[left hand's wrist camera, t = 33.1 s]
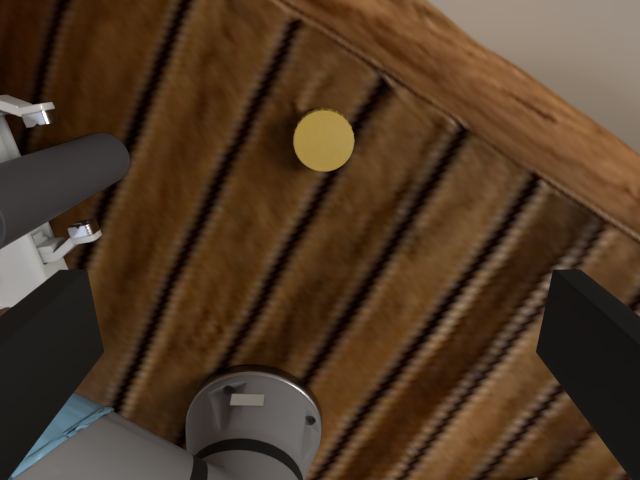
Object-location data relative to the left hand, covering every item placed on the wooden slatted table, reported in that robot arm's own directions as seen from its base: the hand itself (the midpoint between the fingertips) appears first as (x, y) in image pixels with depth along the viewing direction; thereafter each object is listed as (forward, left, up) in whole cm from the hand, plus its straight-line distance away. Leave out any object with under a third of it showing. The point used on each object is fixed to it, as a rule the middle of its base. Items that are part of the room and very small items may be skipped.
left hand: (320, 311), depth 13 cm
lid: (+1, 0, -28) cm, 28 cm away
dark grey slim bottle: (-10, +17, -30) cm, 36 cm away
